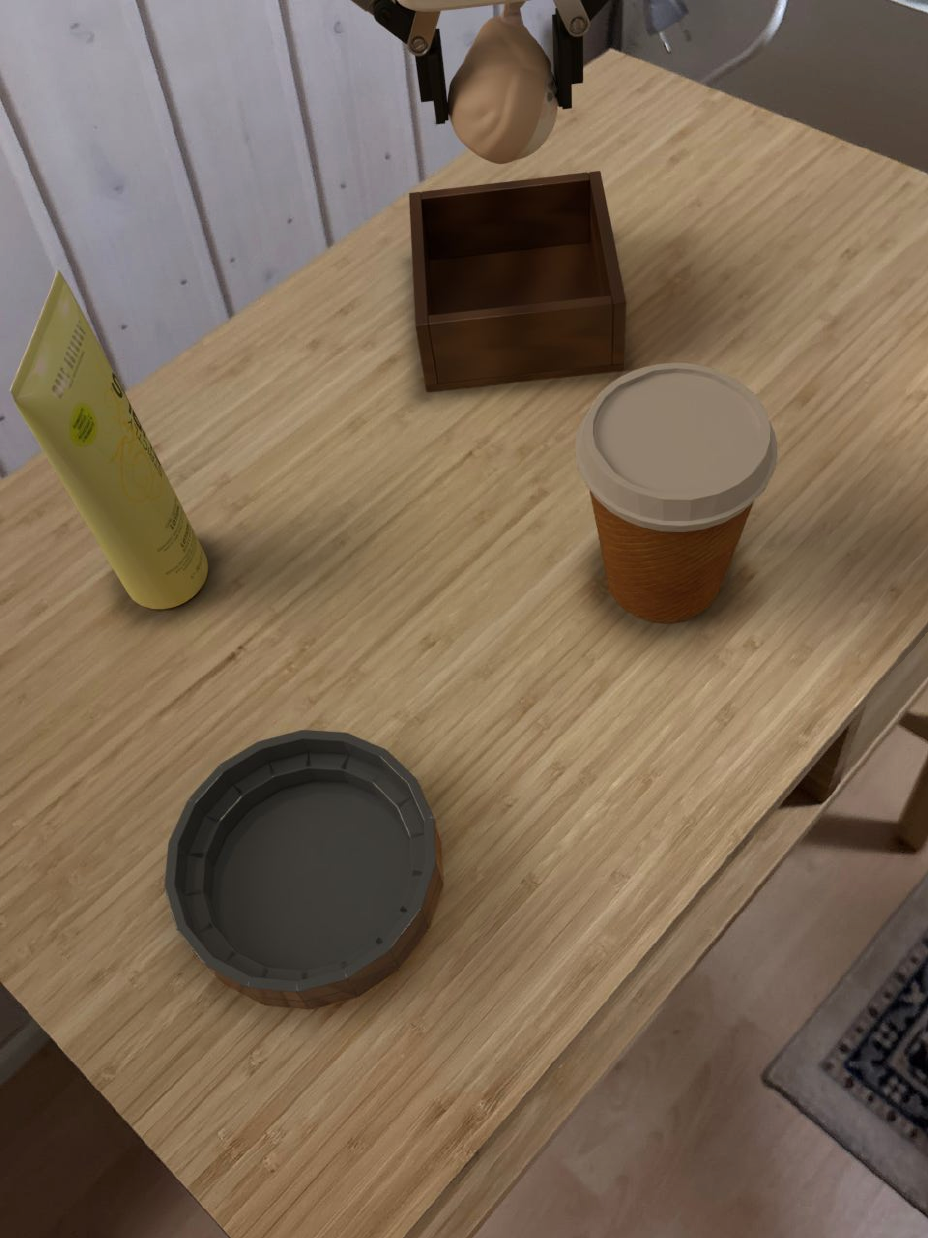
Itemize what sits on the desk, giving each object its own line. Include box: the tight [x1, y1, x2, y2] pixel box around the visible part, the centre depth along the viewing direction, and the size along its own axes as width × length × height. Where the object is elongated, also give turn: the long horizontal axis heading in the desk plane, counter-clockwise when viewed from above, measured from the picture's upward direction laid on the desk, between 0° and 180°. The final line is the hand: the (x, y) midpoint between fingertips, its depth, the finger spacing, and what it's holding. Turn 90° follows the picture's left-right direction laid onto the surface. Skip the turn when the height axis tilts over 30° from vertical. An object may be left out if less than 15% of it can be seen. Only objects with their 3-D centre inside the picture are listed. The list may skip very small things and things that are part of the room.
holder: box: [408, 170, 627, 392], centre depth 74 cm, size 13×13×6 cm
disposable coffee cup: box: [574, 362, 779, 624], centre depth 59 cm, size 10×10×12 cm
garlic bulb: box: [447, 1, 559, 165], centre depth 62 cm, size 7×6×8 cm
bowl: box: [164, 729, 444, 1011], centre depth 54 cm, size 13×13×4 cm
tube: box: [9, 269, 209, 610], centre depth 58 cm, size 6×5×20 cm
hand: (501, 99), depth 63 cm, fingers closed on garlic bulb, 6 cm apart
